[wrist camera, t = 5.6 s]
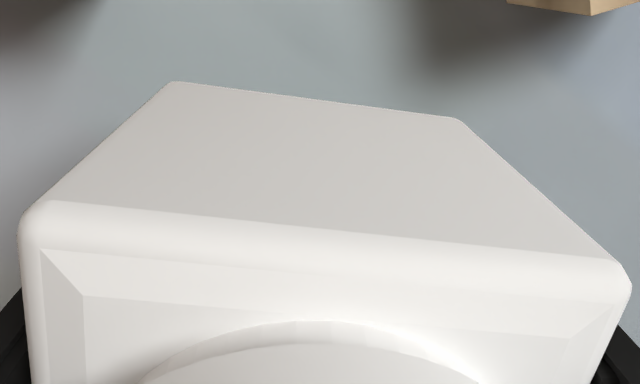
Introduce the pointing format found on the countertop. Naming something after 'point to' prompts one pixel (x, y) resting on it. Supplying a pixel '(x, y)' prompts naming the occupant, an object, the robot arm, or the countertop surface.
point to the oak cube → (575, 5)
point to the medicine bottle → (306, 254)
